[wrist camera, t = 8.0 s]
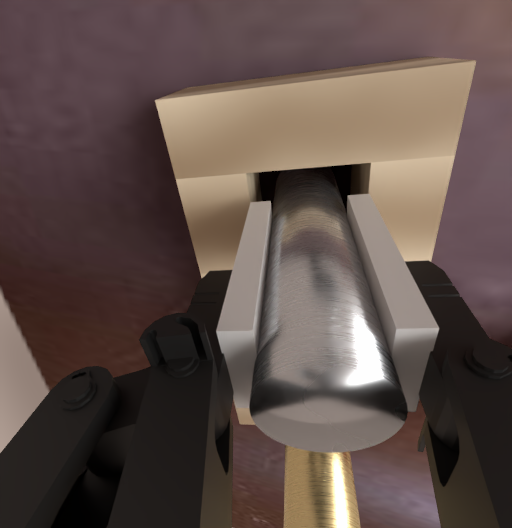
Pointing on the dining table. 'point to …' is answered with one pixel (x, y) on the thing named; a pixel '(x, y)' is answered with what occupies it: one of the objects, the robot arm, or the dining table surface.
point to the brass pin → (319, 490)
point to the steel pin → (320, 329)
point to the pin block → (318, 146)
